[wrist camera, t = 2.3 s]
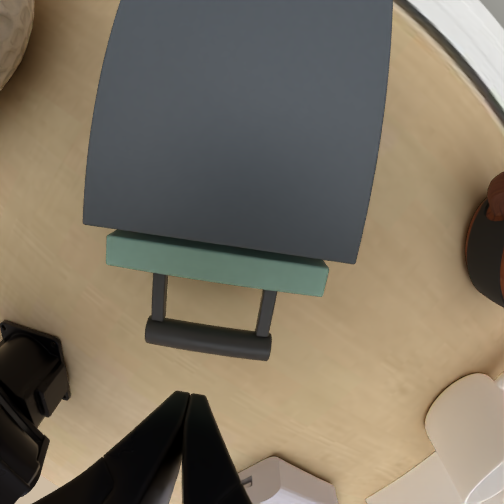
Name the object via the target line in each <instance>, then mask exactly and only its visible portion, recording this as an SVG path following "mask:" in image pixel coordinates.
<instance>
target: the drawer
mask: <svg viewBox="0 0 504 504" xmlns="http://www.w3.org/2000/svg"><path fill="white" fill-rule="evenodd" d="M106 264H107V265H112V266H117V267H123V268H129V269H134V270H140V271H146V272H152V273H153V289H152V315H151V316H149V318H148V320H147V324H146V329H145V340H146V342H147V343H150V344H155V345H161V346H166V347H172V348H177V349H183V350H189V351H195V352H201V353H208V354H214V355H221V356H229V357H236V358H244V359H252V360H261V361H268V359H269V356H270V351H271V343H272V336H271V334H270V333H269V330H270V325H271V320H272V315H273V310H274V305H275V301H276V296H277V291H279V292H287V293H294V294H302V295H310V296H318V297H322V296H323V293H324V289H325V285H326V281H327V277H328V272H329V268H328V266H327V265H326V264H325V262H324V261H323V260H321V259H315V258H308V257H301V256H294V255H288V254H281V253H274V252H268V251H261V250H254V249H247V248H241V247H234V246H227V245H220V244H214V243H207V242H200V241H193V240H186V239H180V238H173V237H166V236H159V235H152V234H145V233H139V232H132V231H125V230H118V229H117V230H116V231H114V232H112V233H111V234H109V235H107V244H106ZM168 275H171V276H177V277H183V278H189V279H196V280H202V281H209V282H216V283H222V284H229V285H236V286H243V287H250V288H257V289H263V292H262V297H261V302H260V308H259V313H258V319H257V324H256V329H255V331H248V330H240V329H233V328H226V327H219V326H212V325H206V324H199V323H193V322H187V321H181V320H175V319H169V318H165V316H166V299H167V284H168Z"/></svg>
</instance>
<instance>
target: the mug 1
mask: <svg viewBox="0 0 504 504" xmlns="http://www.w3.org/2000/svg"><path fill="white" fill-rule="evenodd" d="M503 390H504V372H503V373H501V374H500V375H499V376H498V377H497V378H496V379H495V381H493V379H492V378H490V377H489V376H487V375H485V374H482V373H475V374H470V375H467V376H465V377H463V378H461V379H459V380H457V381H456V382H454V383H453V384H451V385H450V386H449V387H448V388H446V389H445V390H444V391H443V392H442V393H441V394H440V395H439V396H438V397H437V399H436V400H435V401H434V403H433V404H432V406H431V407H430V409H429V411H428V413H427V416H426V419H425V430H426V433H427V435H428V437H429V439H430V441H431V443H432V444H433V446H434V448H435V450H436V452H437V454H438V455H439V457H440V459H441V461H442V463H443V465H444V466H445V468H446V470H447V472H448V474H449V476H450V478H451V480H452V481H453V483H454V485H455V487H456V489H457V491H458V493H459V495H460V497H461V499H462V501H463V503H464V504H479V503H481V502H484V501H486V500H487V499H489V498H491V497H493V496H494V495H496V494H497V493H499V492H500V491H502V490H503V489H504V391H503Z"/></svg>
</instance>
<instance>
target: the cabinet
mask: <svg viewBox="0 0 504 504" xmlns="http://www.w3.org/2000/svg"><path fill="white" fill-rule="evenodd" d="M392 11H393V0H121V1H120V4H119V7H118V10H117V13H116V16H115V20H114V23H113V27H112V30H111V34H110V38H109V41H108V45H107V49H106V53H105V57H104V62H103V66H102V70H101V75H100V80H99V85H98V90H97V95H96V101H95V106H94V112H93V118H92V125H91V132H90V139H89V147H88V156H87V166H86V177H85V189H84V206H83V224H85V225H90V226H97V227H104V228H111V229H118V230H125V231H132V232H139V233H145V234H152V235H159V236H166V237H173V238H180V239H186V240H193V241H200V242H207V243H214V244H220V245H227V246H234V247H241V248H247V249H254V250H261V251H268V252H274V253H281V254H288V255H294V256H301V257H308V258H315V259H321V260H328V261H335V262H341V263H348V264H355V263H356V259H357V255H358V251H359V247H360V242H361V238H362V234H363V229H364V225H365V220H366V215H367V210H368V206H369V201H370V196H371V190H372V185H373V180H374V174H375V169H376V163H377V157H378V151H379V144H380V138H381V131H382V124H383V117H384V109H385V101H386V92H387V83H388V73H389V61H390V49H391V33H392Z"/></svg>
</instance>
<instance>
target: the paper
mask: <svg viewBox="0 0 504 504" xmlns="http://www.w3.org/2000/svg"><path fill="white" fill-rule="evenodd" d="M503 391H504V390H503ZM365 500H366V502H367V504H464V503H463V501H462V499H461V497H460V495H459V493H458V491H457V489H456V487H455V485H454V483H453V481H452V480H451V478H450V476H449V474H448V472H447V470H446V468H445V466H444V465H443V463H442V461H441V459H440V457H439V455H438V454H437V452H436V451H435V452H434V453H433V454H432V455H430V456H429V457H428V458H426V459H425V460H424V461H422V462H421V463H420V464H418V465H417V466H416V467H414V468H413V469H411V470H410V471H409V472H407V473H406V474H404V475H403V476H401V477H400V478H398V479H397V480H395V481H394V482H392V483H391V484H389V485H388V486H386V487H384V488H383V489H381V490H380V491H378V492H376V493H375V494H373V495H371V496H370V497H368V498H366V499H365ZM479 504H504V489H503V490H502V491H500V492H499V493H497V494H496V495H494V496H493V497H491V498H489V499H487V500H486V501H484V502H481V503H479Z"/></svg>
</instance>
